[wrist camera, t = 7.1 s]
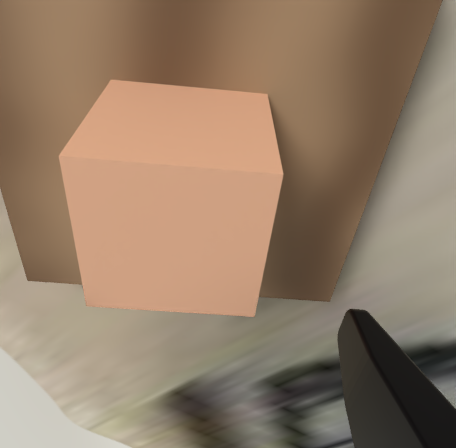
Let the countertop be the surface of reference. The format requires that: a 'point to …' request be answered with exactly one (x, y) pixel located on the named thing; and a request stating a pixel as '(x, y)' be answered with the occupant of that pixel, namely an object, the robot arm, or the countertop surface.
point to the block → (173, 197)
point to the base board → (223, 80)
